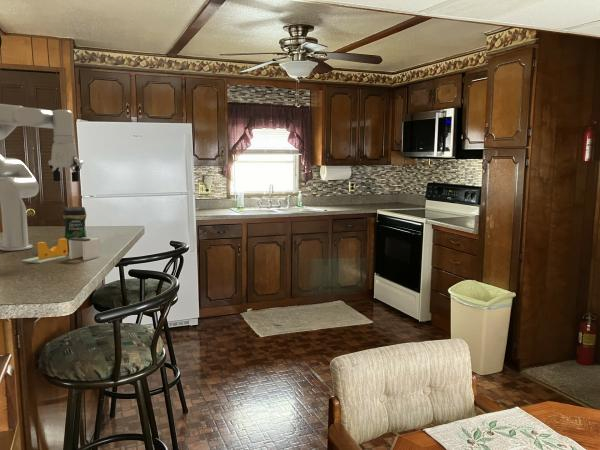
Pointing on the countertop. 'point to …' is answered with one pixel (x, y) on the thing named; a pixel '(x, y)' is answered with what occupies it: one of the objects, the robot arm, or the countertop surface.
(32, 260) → the mat
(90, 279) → the countertop surface
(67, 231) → the coffee jar
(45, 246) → the orange branched block
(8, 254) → the countertop surface
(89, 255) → the hollow square frame
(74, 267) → the countertop surface
